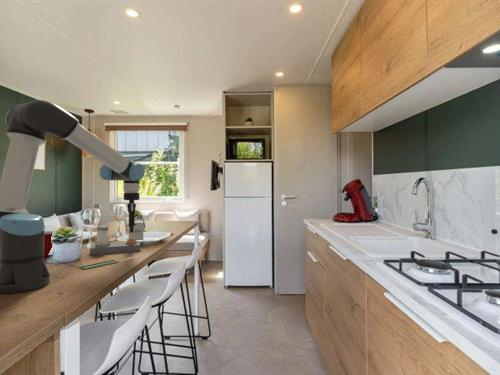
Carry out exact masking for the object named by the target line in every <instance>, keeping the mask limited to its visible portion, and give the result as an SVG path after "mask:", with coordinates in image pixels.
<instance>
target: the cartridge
mask: <svg viewBox="0 0 500 375" xmlns="http://www.w3.org/2000/svg"><path fill="white" fill-rule="evenodd" d="M96 243H97V247H102V246H108V243H109V226H108V225H107V226H105V225H101V226H96Z"/></svg>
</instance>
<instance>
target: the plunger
mask: <svg viewBox="0 0 500 375" xmlns="http://www.w3.org/2000/svg"><path fill="white" fill-rule="evenodd" d="M126 241H127V244H136V239H129V238H127V240H126Z"/></svg>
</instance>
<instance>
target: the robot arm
mask: <svg viewBox="0 0 500 375" xmlns="http://www.w3.org/2000/svg"><path fill="white" fill-rule="evenodd" d="M5 124H6V126H7V131H6V136H7V137H8V138H9V140H10V141H9V146H8V150H7V154H6V158H5V161H4V165H3V170H2V174H1V178H0V294H3V295H4V294H15V293H16V294H17V293H18V294H19V293H22V292H29V291H33V290H37V289H40V288H42V287H45V286H47V285H49V284H50V283H51V274H50V271H49V269H48V267H47V264H46V261H45V259H44V231H45V228H46V227H45V220H44V218H43V216H41V215H40V214H33V213H29V211H28V210H27V209H26V205H27V201H28V196H29V192H30V188H31V184H32V179H33V174H34V170H35V167H36V166H35V165H36V161H37V156H38V153H39V148H40V147H41V146H42V145H43V144H46V141H47V140H46V139H47V135H48V134H50V135H52V136H54V137H56V138H59V140H62V141H63V140H66V141H68V142H70V143H71V144H72V145H74V146H75V147H77V148H79V149H80V150H82V151H83V152H85V153H86V154H88V156H89V155H90V156H91V157H92V158H94V159H96V160H97V161H98V162H100V163H101V164H103V165H101V167H100V168H99V177H100V179H102V180H103V181H123V190H122V191H123V192H124V193H123V201H128V203H127V204H126V206H127V213H128V222H127V223H128V224H127V227H128V239H134V225H136V224H135V221H136V217H135V216H136V215H135V214H136V207H137V204H136V203H135V201H139V200H140V188H141V185H140V180H142V179H143V178H144V177H145V173H146V171H145V170H146V169H145V167H144V166H143V164H141V163H139V162H137V161H130V160H129V158H127V157H125V156H124V155H123V154H121V153H120V152H119V151H117V150H116V149H114V148H112V146H110V145H109V144H107V143H106V142H105V141H104V140H102V139H101V138H99V137H98V136H97V135H96V134H94V133H92V131H89V130H88V129H87V128H85V127H84V126H83V125H82V124H80V122H79V119H78V118H77V117H75V116H74V115H72V114H71V113H70V112H68V111H67V110H65V109H63V108H62V107H61V106H59V105H57V104H55V103H53V102H50V101H46V100H44V99H36V100H35V99H34V100H31V101H29V102H25V103H20V104H19V103H18V104H16V105H14V106H13V107H11V108H10V109H9V110H8V111H7V112H6V115H5Z"/></svg>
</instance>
